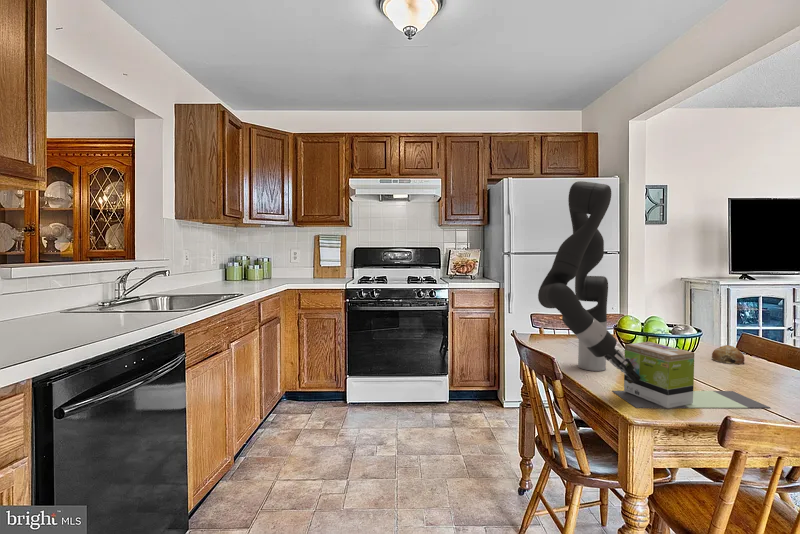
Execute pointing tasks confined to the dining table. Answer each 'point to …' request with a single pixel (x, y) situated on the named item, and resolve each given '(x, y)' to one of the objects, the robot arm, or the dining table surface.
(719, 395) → the mat
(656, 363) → the tea box
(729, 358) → the bread roll
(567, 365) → the dining table surface
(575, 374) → the dining table surface
